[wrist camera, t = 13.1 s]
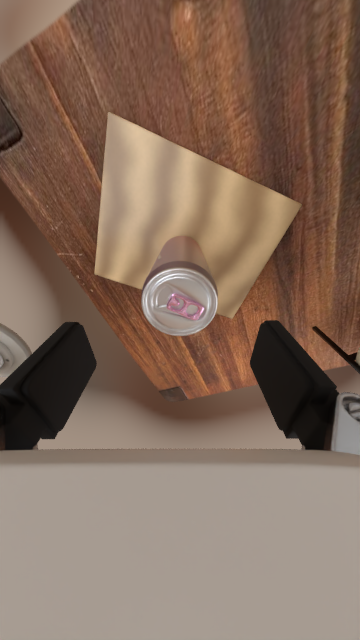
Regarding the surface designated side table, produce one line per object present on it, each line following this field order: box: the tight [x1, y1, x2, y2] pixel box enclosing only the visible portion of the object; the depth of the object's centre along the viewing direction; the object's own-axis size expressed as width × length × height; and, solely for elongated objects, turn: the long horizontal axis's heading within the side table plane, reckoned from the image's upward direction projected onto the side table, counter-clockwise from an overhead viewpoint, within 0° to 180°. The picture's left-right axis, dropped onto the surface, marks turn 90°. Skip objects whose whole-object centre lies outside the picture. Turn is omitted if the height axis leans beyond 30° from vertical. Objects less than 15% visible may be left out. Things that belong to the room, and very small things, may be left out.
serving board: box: [95, 112, 302, 319], centre depth 25 cm, size 24×18×2 cm
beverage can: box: [142, 236, 218, 336], centre depth 19 cm, size 6×6×15 cm
